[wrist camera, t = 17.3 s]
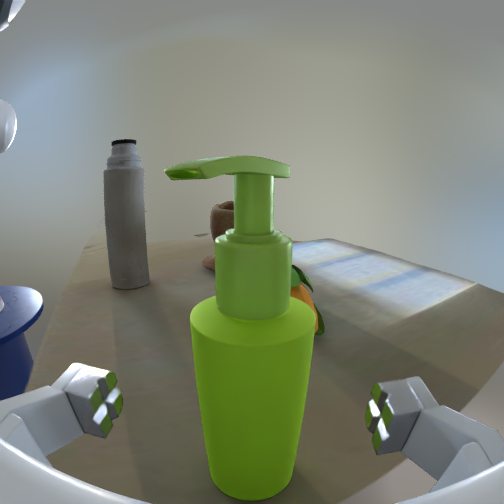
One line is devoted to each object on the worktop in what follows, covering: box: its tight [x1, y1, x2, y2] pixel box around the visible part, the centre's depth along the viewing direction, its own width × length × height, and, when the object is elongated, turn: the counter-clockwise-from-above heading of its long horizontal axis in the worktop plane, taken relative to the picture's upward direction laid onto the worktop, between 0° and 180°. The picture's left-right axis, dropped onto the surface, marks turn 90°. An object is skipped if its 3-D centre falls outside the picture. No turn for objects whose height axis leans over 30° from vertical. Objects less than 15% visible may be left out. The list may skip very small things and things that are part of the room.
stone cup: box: [201, 201, 234, 271], centre depth 65 cm, size 15×12×15 cm
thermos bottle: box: [104, 139, 149, 289], centre depth 52 cm, size 8×8×28 cm
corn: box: [290, 265, 324, 335], centre depth 40 cm, size 7×8×20 cm
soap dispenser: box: [164, 156, 316, 501], centre depth 14 cm, size 6×7×20 cm
